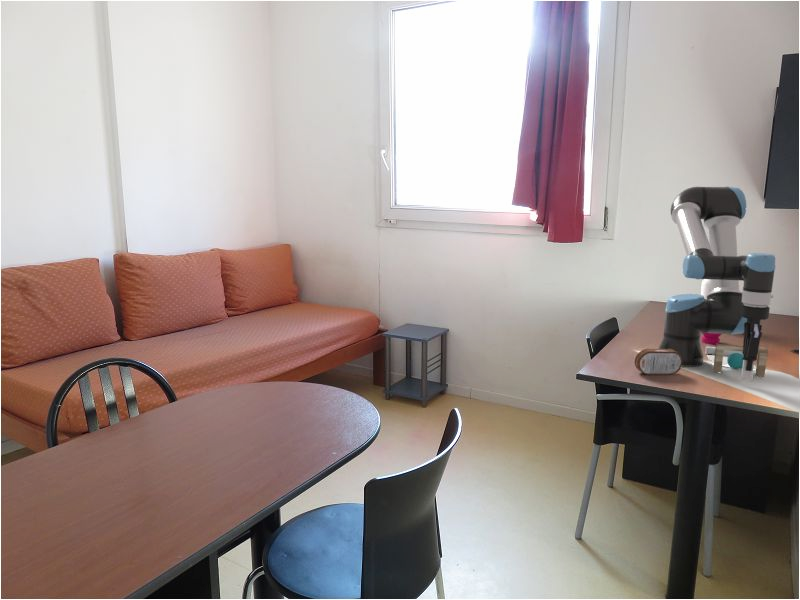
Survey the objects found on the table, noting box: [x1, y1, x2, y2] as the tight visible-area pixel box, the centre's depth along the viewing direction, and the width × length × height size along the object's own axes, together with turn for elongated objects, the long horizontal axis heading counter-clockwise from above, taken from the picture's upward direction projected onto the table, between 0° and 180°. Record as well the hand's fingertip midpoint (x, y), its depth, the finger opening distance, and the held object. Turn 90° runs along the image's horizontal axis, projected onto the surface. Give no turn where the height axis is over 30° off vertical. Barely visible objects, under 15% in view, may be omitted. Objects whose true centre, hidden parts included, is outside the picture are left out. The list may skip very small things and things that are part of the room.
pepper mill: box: [701, 333, 722, 345], centre depth 239 cm, size 7×7×20 cm
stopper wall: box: [704, 345, 744, 357], centre depth 222 cm, size 14×2×2 cm, turn 70°
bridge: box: [712, 343, 769, 378], centre depth 200 cm, size 3×14×9 cm, turn 70°
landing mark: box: [706, 354, 757, 369], centre depth 213 cm, size 14×14×1 cm
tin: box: [634, 348, 683, 376], centre depth 199 cm, size 15×3×8 cm, turn 92°
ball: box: [727, 353, 743, 370], centre depth 205 cm, size 6×6×6 cm
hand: (746, 379), depth 188 cm, fingers closed
